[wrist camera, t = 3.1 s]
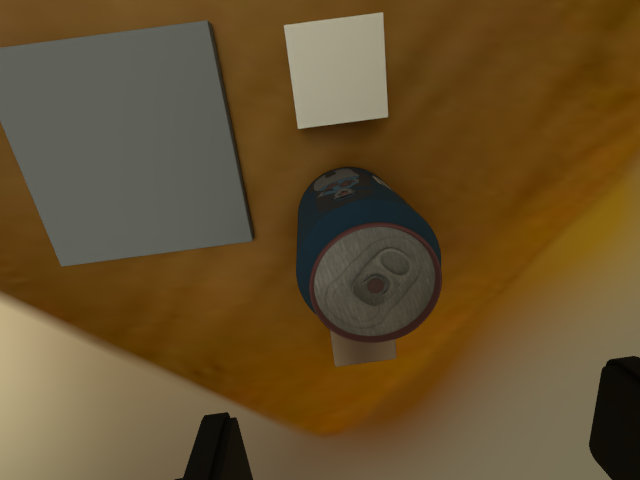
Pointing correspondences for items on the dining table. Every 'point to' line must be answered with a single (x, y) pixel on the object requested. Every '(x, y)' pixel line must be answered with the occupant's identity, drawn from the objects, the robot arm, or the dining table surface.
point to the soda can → (365, 257)
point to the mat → (126, 142)
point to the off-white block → (338, 70)
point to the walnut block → (360, 351)
